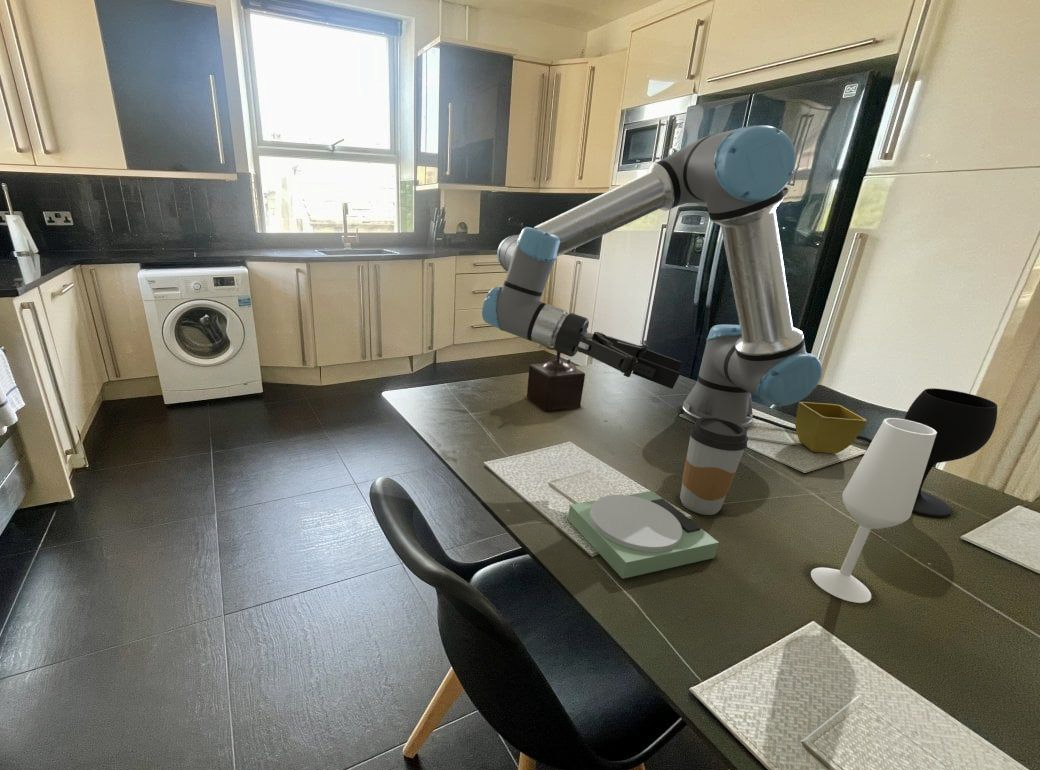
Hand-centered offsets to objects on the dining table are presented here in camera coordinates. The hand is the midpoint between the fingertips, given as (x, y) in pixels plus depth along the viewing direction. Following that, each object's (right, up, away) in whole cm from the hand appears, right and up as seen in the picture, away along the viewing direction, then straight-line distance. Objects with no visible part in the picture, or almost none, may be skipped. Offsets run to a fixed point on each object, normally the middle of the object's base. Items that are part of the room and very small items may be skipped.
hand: (677, 374), depth 82 cm
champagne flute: (+15, -30, -16) cm, 37 cm away
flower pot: (+42, -15, +24) cm, 51 cm away
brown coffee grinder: (-12, -4, +45) cm, 47 cm away
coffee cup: (+4, -23, +1) cm, 23 cm away
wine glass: (+44, -23, +5) cm, 50 cm away
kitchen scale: (-10, -25, -8) cm, 29 cm away
